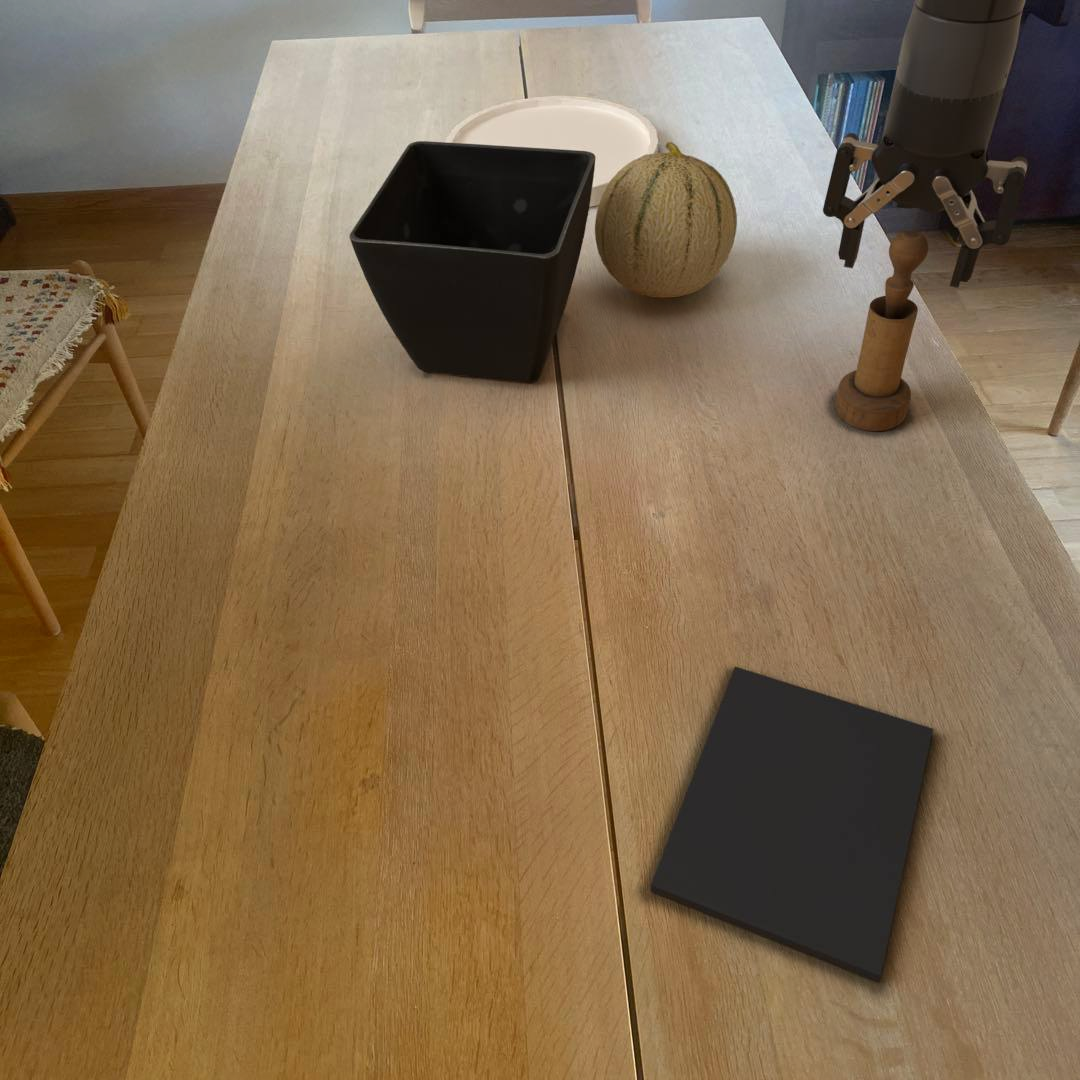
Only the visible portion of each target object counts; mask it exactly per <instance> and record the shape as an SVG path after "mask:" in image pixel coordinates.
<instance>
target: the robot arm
mask: <svg viewBox="0 0 1080 1080" xmlns="http://www.w3.org/2000/svg"><path fill="white" fill-rule="evenodd" d="M1025 3H1026V0H914V3H913V7H912V10H911V13H910V16H909V19H908V21H907V25H906V28H905V31H904V34H903V38H902V42H901V46H900V51H899V56H898V62H897V68H896V72H895V76H894V80H893V86H892V90H891V96H890V99H889V104H888V105H889V106H888V109H887V110H888V111H887V115H886V121H885V125H884V129H883V134H882V138H881V139H880V140H879V141H878V143H872V142H868V141H862V140H860V139H859V136H858V134H857V133H854V132H848V133H846V134H845V135H844V137H843V139H842V140H841V143H840V144H839V146H838V148H837V150H836V153H835V157H834V161H833V166H832V170H831V174H830V178H829V182H828V187H827V191H826V194H825V199H824V203H823V206H822V212H823V215H824V216H826V217H827V218H836V219H838V220H839V221H840V222H841V223H842V232H841V237H840V243H839V248H838V258H839V260H841V261H844V263H843V267H844V268H848V269H853V268H854V266H855V264H856V261H857V258H858V255H859V250H860V246H861V240H862V237H863V231H864V226H865V222H866V219H868V218H869V217H870V216H871V215H874V214H876V213H878V212H879V210H881V209H882V208H883V207H885V206H886V205H887V204H888V203H889V202H893V204H895V205H896V208H900V209H918V210H919V209H920V210H922V211H924V212H926V213H931V214H938V213H939V212H942V211H945V212H946V213H947V215H948V217H949V219H950V221H951V223H952V225H953V227H954V228H957V229H958V231H959V233H960V236H961V237H962V242H961V246H960V249H959V253H958V256H957V259H956V263H955V265H954V269H953V274H952V276H951V279H950V283H949V287H950V288H951V287H952V288H956V289H959V287H960V283H962V282H963V283H968V282H969V281H970V279H971V278H972V275H973V272H974V269H975V265H976V262H977V259H978V256H979V253H980V250H981V248H982V247H984V246H986V245H987V246H988V245H992V244H993V245H994V244H995V246H1000V247H1001V246H1005V245H1006V244H1008V243H1009V241H1010V237H1011V234H1012V230H1013V226H1014V221H1015V218H1016V214H1017V209H1018V206H1019V201H1020V198H1021V193H1022V190H1023V185H1024V182H1025V178H1026V174H1027V169H1028V165H1029V163H1028V159H1027V158H1025V157H1023V156H1016V157H1014V158H1013V159H1012V160H1011V161H1003V160H1002V161H1001V160H992V159H990V157H989V153H988V147H989V143H990V140H991V137H992V134H993V130H994V126H995V123H996V119H997V116H998V112H999V109H1000V105H1001V102H1002V98H1003V96H1004V90H1005V88H1006V84H1007V81H1008V78H1009V74H1010V72H1011V70H1012V68H1013V65H1014V57H1015V54H1016V49H1017V45H1018V40H1019V33H1020V27H1021V20H1022V15H1023V11H1024V7H1025ZM867 161H871V166H872V168H873V170H874V172H875V173H876V176H877V179H875V181H873V182H872V184H870V186H869V187H868V188H867V189H866V190H865V191H864V192H863V193H861V194H860V195H859V196H858V197H857V198H855V199H851V198H849V197H848V196H846V194H847V190H848V185H849V181H850V177H851V174H852V172H857V171H859V170H861V167H862V165H863V164H864V163H865V162H867ZM986 178H988V179H990V180H991V182H992V187H993V191H994V193H996V194H1002V195H1001V199H1000V203H999V208H998V212H997V216H996V220H989V221H986V220H985V218H984V217H983V215H982V213H981V210H980V209H979V207H978V202H977V198H976V196H975V194H974V192H973V189H974V188H976V187H977V186H979V184H981V183H982V182H983V181H984V180H985V179H986Z"/></svg>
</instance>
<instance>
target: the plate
mask: <svg viewBox="0 0 1080 1080" xmlns="http://www.w3.org/2000/svg"><path fill="white" fill-rule="evenodd" d="M444 142H446V143H464V144H481V145H496V146H513V147H529V148H545V149H561V150H577V151H587V152H591V153H593V154H594V155H595V169H594V178H593V185H592V192H591V199H590V205H589V208H591V207H595V206H598V205H599V203H600V200H601V197H602V195H603V193H604V191H605V189H606V186H607V185H608V183H609V182H610V180H611V179H612V178H613V177H614V176H615V175H616V174H617V173H618V171H620V170H621V169H622V168H623V167H624V166H626V165H627V164H628V163H630V162H632V161H633V160H635V159H638V158H640V157H642V156H644V155H645V154H647V155H649V154H654V153H659V139H658V131H657V129H656V127H655V126H654V125H653V124H652V123H651V121H650V120H649V119H648V118H647V117H646V116H644V115H643V114H641V113H639V112H638V111H636V110H635V109H633V108H630V107H628V106H625V105H622V104H620V103H617V102H614V101H610V100H606V99H599V98H595V97H590V96H589V97H588V96H572V95H549V96H534V97H526V98H522V99H515V100H510V101H507V102H502V103H499V104H496V105H493V106H489V107H487V108H485V109H482V110H480V111H478V112H476V113H473V114H471V115H469V116H467V117H466V118H464V120H462V121H461V122H459V123H458V124H457V125H455V126H454V127H453V128H452V130H451V131H450V132H449V134H447V137H446V138H445V139H444Z"/></svg>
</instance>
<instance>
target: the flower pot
mask: <svg viewBox="0 0 1080 1080" xmlns="http://www.w3.org/2000/svg"><path fill="white" fill-rule="evenodd" d="M594 169H595V155H594V154H593V153H591V152H587V151H577V150H561V149H545V148H529V147H513V146H496V145H481V144H464V143H446V142H445V141H444V142H443V141H431V140H430V141H427V140H418V141H413V142H411V143H409V144H408V145H407V146H406V148H405V149H404V151H403V152H402V154H401V155H400V157H399V158H398V160H397V161H396V163H395V164H394V166H393V168H392V169H391V171H390V172H389V173H388V175H387V177H386V178H385V180H384V182H383V183H382V184H381V186H380V188H379V190H378V191H377V192H376V194H375V195H374V197H373V199H372V200H371V201H370V203H369V205H368V206H367V208H366V209H365V210H364V212H362V213H363V214H362V215H361V217H360V218H359V219H358V221H357V222H356V223H355V225H354V227H353V229H352V230H351V232H350V233H349V237H348V238H349V240H350V243H351V247H352V249H353V252H354V254H355V257H356V259H357V262H358V264H359V266H360V268H361V270H362V273H363V276H364V278H365V280H366V282H367V284H368V288H369V289H370V291H371V293H372V296H373V297H374V299H375V302H376V303H377V305H378V308H379V309H380V311H381V313H382V315H383V316H384V319H385V320H386V322H387V324H388V325H389V328H390V329H391V330H392V332H393V334H394V335H395V337H396V339H397V340H398V342H399V343H400V345H401V346H402V348H403V349H404V350H405V352H406V353H407V355H408V356H409V358H410V359H411V361H412V362H413V363H414V365H415V367H416V368H417V369H419V370H420V371H421V372H423V373H424V372H425V373H430V374H431V373H433V374H441V375H451V376H459V377H468V378H475V379H488V380H496V381H504V382H505V381H506V382H516V383H522V384H523V383H524V384H526V383H527V384H532V383H535V382H537V381H538V380H539V379H540V378H541V377H542V374H543V371H544V368H545V365H546V363H547V360H548V357H549V354H550V352H551V348H552V346H553V343H554V340H555V338H556V335H557V333H558V329H559V327H560V324H561V321H562V318H563V316H564V312H565V310H566V308H567V307H566V306H567V304H568V300H569V297H570V294H571V290H572V286H573V283H574V279H575V276H576V271H577V267H578V264H579V260H580V255H581V251H582V247H583V242H584V239H585V233H586V228H587V223H588V222H587V221H588V218H589V217H588V216H589V211H590V207H589V205H590V199H591V192H592V185H593V178H594Z"/></svg>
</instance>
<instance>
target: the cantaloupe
mask: <svg viewBox="0 0 1080 1080" xmlns="http://www.w3.org/2000/svg"><path fill="white" fill-rule="evenodd" d="M665 148H666V149H667V150H668V151H669V152H660V151H658V153H654V154H649V155H647V154H645V155H644V156H642V157H640V158H638V159H635V160H633V161H632V162H630V163H628V164H627V165H626V166H624V167H623V168H622V169H621V170H620V171H618V173H617V174H616V175H615V176H614V177H613V178H612V179H611V180H610V182H609V183H608V185H607V186H606V189H605V191H604V193H603V195H602V197H601V200H600V203H599V205H597V210H596V215H595V220H594V221H595V222H594V234H595V237H594V239H595V243H596V249H597V252H598V255H599V258H600V260H601V263H602V265H603V266H604V267H605V268H606V270H607V272H608V274H610V275H611V277H612V278H613V279H614V280H615V281H616V282H617V283H618V284H619V285H621V286H622V287H623V288H625V289H627V290H628V291H630V292H631V293H634V294H638V295H642V296H647V297H651V298H677V297H678V298H679V297H682V296H687V295H690V294H692V293H694V292H697V291H699V290H701V289H702V288H703V287H706V286H707V285H708V284H709V283H710V282H711V281H712V280H713V279H715V277H716V276H717V275H718V273H719V272H720V270H721V269H722V268H723V266H724V264H725V263H726V262H727V260H728V258H729V255H730V253H731V252H732V249H733V246H734V243H735V238H736V234H737V227H738V213H737V206H736V204H735V198H734V196H733V194H732V193H733V192H732V191H731V188H730V186H729V184H728V182H727V181H726V179H725V178H724V176H723V175H722V174H721V173H720V172H719V170H717V169H716V168H715V167H713V165H711V164H709V163H707V162H706V161H704V160H702V159H699V158H698V157H696V156H693V155H686V154H684V153H683V152H682V151H681V150H680V149H679V146H678V145H676V143H674V142H672V141H666V142H665Z"/></svg>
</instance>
